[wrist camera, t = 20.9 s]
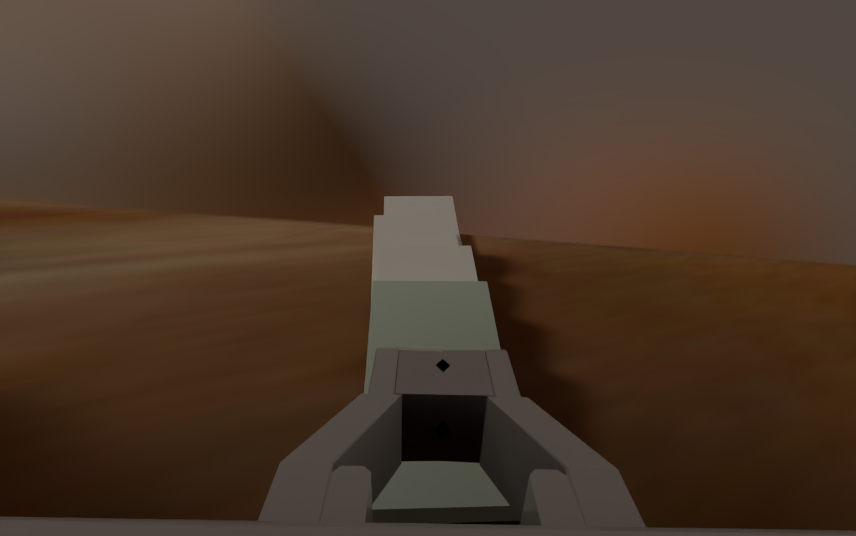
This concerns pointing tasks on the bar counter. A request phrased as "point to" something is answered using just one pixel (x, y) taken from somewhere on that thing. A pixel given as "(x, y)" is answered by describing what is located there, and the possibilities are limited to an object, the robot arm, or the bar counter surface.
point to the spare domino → (448, 330)
